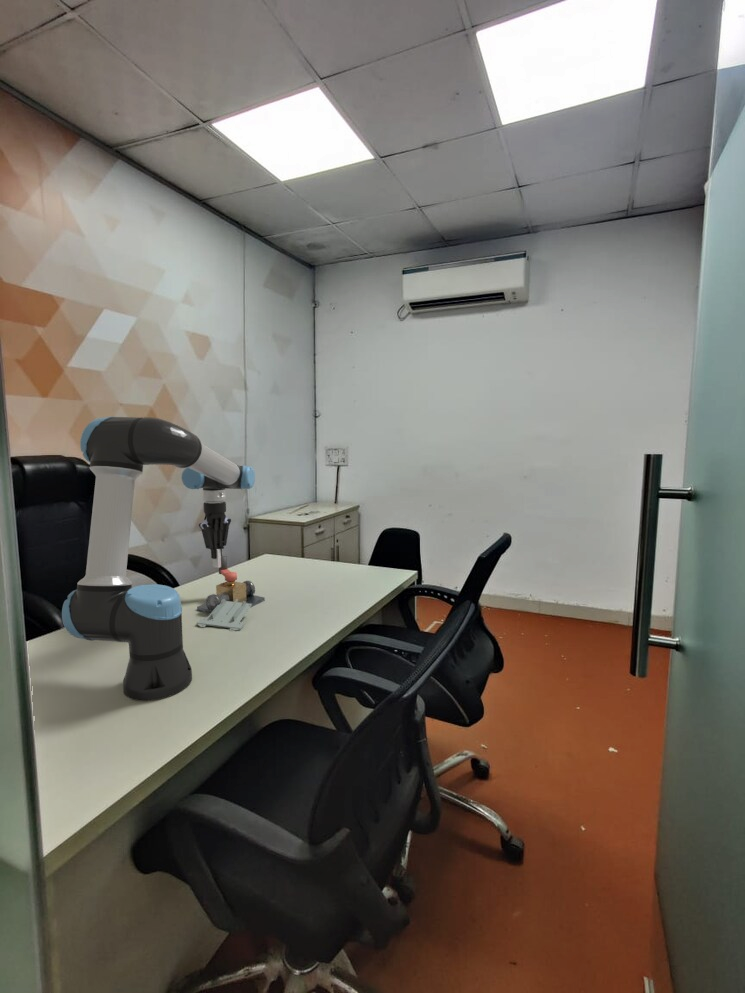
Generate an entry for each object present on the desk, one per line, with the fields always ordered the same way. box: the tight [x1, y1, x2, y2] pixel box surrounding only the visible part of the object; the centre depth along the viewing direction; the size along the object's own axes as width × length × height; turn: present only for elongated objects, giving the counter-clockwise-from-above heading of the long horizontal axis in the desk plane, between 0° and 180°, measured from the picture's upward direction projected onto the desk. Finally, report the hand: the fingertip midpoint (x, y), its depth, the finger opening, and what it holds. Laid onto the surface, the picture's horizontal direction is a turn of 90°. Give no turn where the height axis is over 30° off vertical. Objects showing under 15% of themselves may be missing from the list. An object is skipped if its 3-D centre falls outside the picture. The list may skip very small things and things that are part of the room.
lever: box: [218, 555, 238, 582], centre depth 170 cm, size 12×4×6 cm, turn 34°
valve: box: [196, 580, 266, 614], centre depth 167 cm, size 18×14×9 cm
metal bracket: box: [196, 599, 252, 632], centre depth 154 cm, size 14×6×15 cm
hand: (217, 566), depth 172 cm, fingers closed
